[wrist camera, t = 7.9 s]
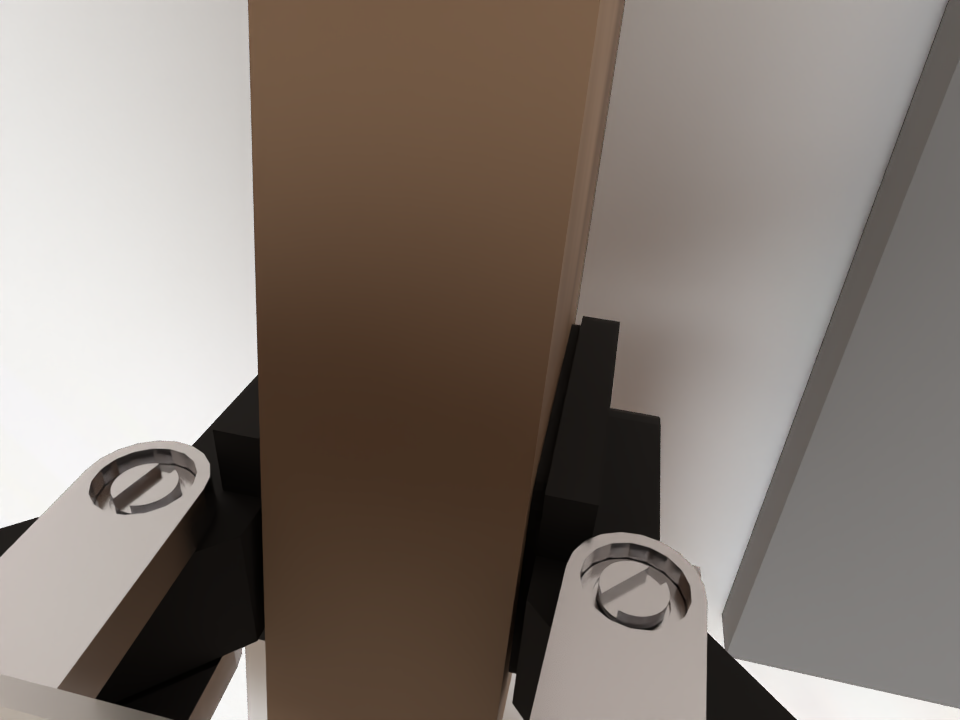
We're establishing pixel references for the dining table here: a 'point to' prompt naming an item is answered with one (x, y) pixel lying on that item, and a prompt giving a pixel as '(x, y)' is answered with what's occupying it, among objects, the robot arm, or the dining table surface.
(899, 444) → the tool board
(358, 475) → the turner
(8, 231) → the dining table surface
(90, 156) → the dining table surface
